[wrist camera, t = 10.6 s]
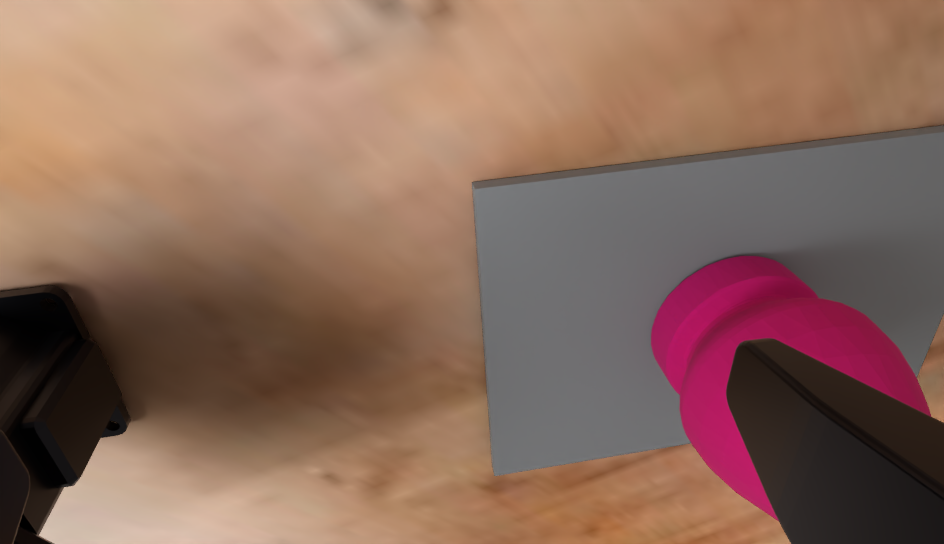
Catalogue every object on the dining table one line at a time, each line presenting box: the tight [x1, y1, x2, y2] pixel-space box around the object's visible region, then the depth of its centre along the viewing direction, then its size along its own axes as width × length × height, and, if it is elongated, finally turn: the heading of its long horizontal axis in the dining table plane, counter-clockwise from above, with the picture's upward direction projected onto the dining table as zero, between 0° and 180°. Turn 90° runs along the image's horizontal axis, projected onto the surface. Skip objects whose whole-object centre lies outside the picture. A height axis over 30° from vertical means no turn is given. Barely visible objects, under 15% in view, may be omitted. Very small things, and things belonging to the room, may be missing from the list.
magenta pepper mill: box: [651, 256, 931, 521], centre depth 16 cm, size 7×7×20 cm
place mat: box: [472, 125, 944, 476], centre depth 25 cm, size 20×14×1 cm
